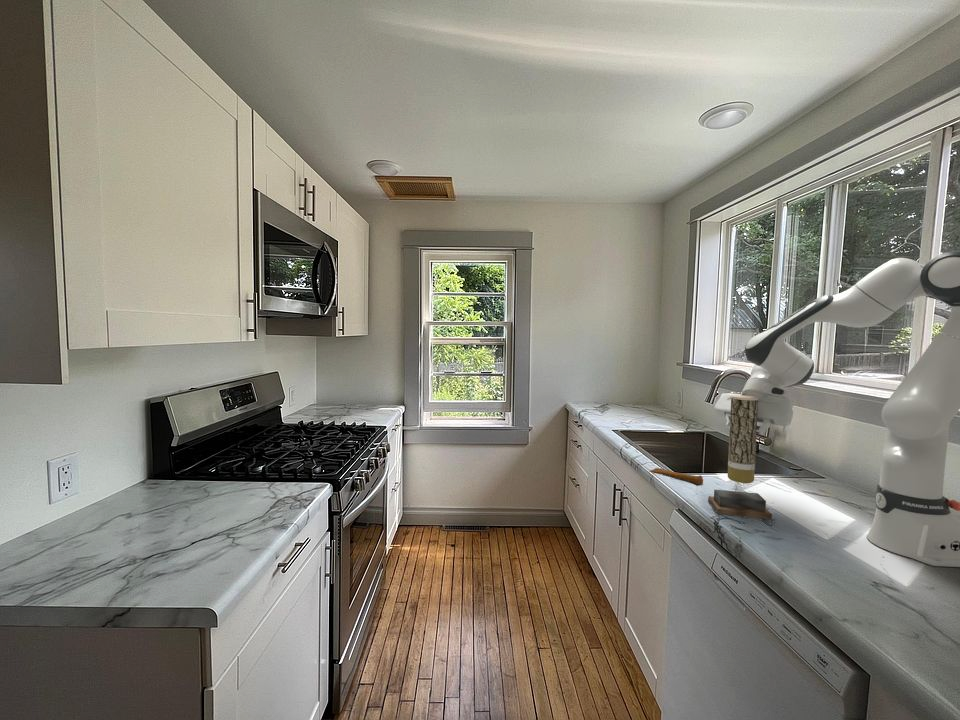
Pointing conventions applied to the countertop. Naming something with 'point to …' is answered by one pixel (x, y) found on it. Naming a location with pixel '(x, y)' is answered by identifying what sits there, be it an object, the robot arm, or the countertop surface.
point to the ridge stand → (739, 504)
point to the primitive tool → (680, 476)
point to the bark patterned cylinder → (742, 438)
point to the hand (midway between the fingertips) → (743, 430)
